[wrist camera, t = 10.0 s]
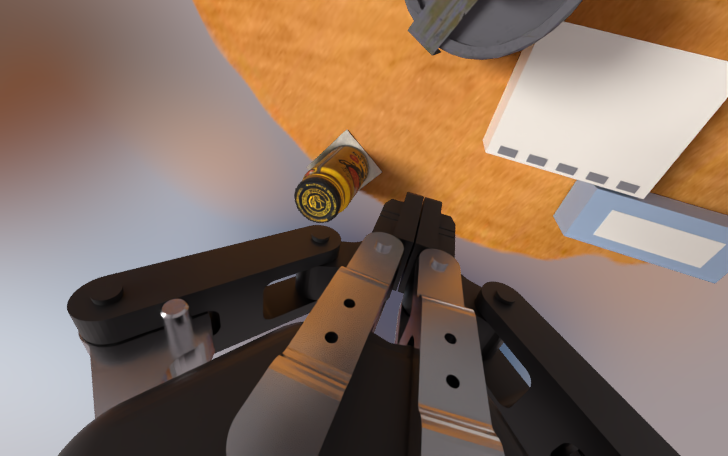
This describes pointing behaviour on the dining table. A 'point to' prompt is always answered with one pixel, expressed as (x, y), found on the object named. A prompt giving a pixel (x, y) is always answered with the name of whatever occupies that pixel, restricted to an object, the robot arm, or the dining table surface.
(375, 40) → the dining table surface
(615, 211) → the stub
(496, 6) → the canister
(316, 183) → the condiment
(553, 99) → the white box
